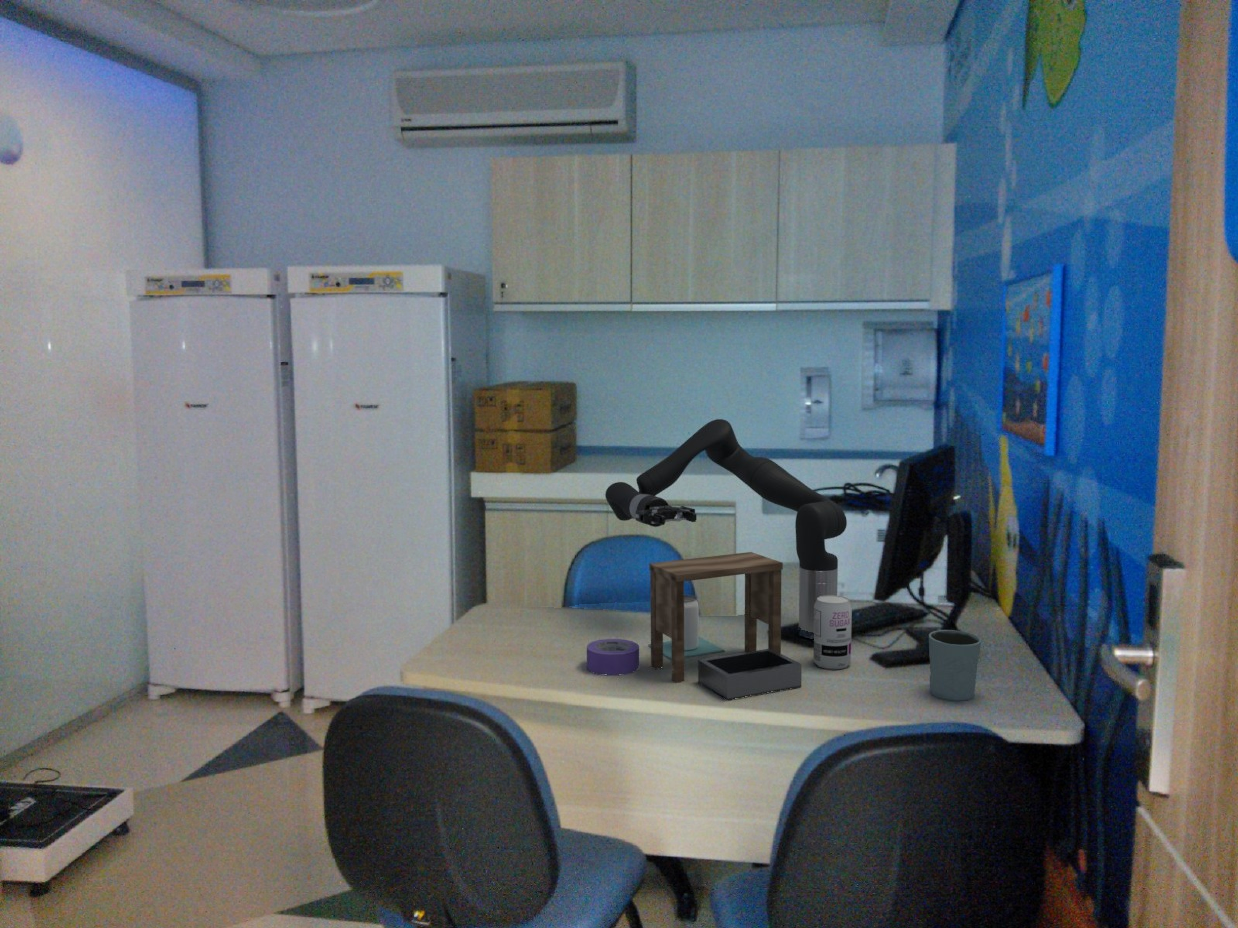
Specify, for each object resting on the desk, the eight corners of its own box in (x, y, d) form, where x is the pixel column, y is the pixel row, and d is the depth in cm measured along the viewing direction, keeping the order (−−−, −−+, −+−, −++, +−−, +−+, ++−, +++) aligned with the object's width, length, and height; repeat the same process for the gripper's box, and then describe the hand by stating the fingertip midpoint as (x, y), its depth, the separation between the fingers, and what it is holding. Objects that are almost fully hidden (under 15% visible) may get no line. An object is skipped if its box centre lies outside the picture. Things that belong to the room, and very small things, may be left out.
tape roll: (639, 659, 226) (639, 638, 225) (639, 676, 214) (638, 653, 213) (588, 659, 226) (587, 638, 225) (585, 676, 214) (584, 654, 214)
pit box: (698, 682, 209) (698, 660, 208) (769, 670, 216) (769, 648, 215) (727, 700, 198) (727, 676, 197) (801, 687, 205) (801, 664, 205)
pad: (648, 646, 235) (648, 644, 235) (699, 638, 241) (699, 636, 241) (671, 660, 224) (671, 658, 224) (724, 651, 230) (724, 650, 230)
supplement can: (826, 656, 225) (827, 592, 224) (857, 664, 220) (859, 599, 218) (806, 664, 220) (806, 599, 218) (837, 673, 214) (838, 606, 212)
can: (680, 652, 228) (679, 602, 227) (666, 645, 234) (666, 596, 232) (703, 648, 231) (703, 599, 229) (689, 641, 237) (689, 593, 235)
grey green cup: (935, 682, 207) (937, 627, 206) (985, 691, 202) (987, 634, 200) (920, 696, 199) (922, 639, 198) (971, 706, 193) (973, 647, 192)
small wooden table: (650, 665, 220) (649, 563, 217) (750, 649, 231) (751, 552, 228) (677, 683, 208) (676, 575, 206) (781, 665, 219) (782, 562, 216)
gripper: (673, 521, 254) (704, 532, 239) (624, 526, 248) (652, 537, 233) (673, 493, 253) (704, 501, 238) (623, 497, 247) (652, 506, 232)
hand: (679, 519), depth 236 cm, fingers open, 8 cm apart
